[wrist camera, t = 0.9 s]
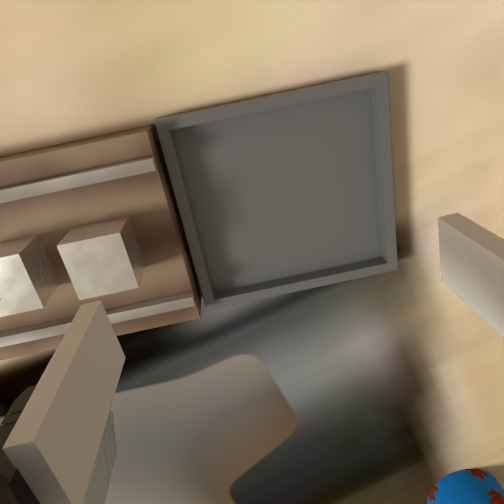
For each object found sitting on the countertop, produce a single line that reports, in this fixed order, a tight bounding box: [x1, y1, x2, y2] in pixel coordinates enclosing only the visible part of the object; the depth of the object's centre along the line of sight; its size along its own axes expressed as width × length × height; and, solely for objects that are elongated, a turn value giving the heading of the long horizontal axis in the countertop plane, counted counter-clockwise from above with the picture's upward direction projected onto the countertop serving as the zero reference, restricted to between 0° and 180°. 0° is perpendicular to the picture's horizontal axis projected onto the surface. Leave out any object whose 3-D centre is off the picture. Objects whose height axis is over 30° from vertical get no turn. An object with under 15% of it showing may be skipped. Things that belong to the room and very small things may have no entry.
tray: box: [154, 71, 398, 310], centre depth 40 cm, size 19×20×2 cm
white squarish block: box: [0, 235, 59, 317], centre depth 36 cm, size 5×5×4 cm
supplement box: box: [82, 412, 116, 504], centre depth 45 cm, size 7×7×13 cm
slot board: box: [0, 125, 201, 360], centre depth 39 cm, size 18×20×5 cm
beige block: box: [57, 216, 146, 300], centre depth 36 cm, size 5×5×4 cm
